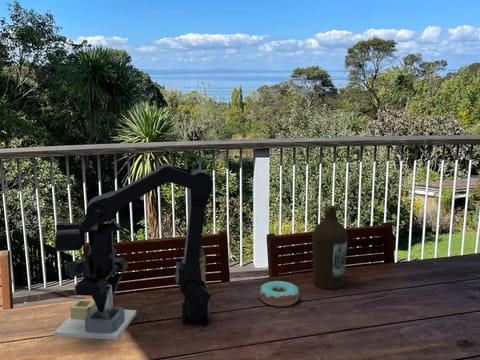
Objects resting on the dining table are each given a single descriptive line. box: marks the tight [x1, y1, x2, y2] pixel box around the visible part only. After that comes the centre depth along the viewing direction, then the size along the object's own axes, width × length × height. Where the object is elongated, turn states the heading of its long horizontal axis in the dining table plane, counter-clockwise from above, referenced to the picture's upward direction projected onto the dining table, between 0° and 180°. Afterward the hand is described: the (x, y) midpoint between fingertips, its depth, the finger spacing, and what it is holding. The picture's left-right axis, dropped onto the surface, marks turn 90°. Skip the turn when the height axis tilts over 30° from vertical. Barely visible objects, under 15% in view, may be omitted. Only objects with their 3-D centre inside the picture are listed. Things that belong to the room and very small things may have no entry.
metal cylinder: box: [96, 282, 114, 320], centre depth 117 cm, size 4×4×9 cm
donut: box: [258, 280, 301, 307], centre depth 136 cm, size 12×12×4 cm
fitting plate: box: [53, 298, 137, 341], centre depth 121 cm, size 16×14×4 cm
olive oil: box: [311, 204, 348, 291], centre depth 145 cm, size 11×11×25 cm
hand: (104, 307), depth 118 cm, fingers closed on metal cylinder, 4 cm apart
